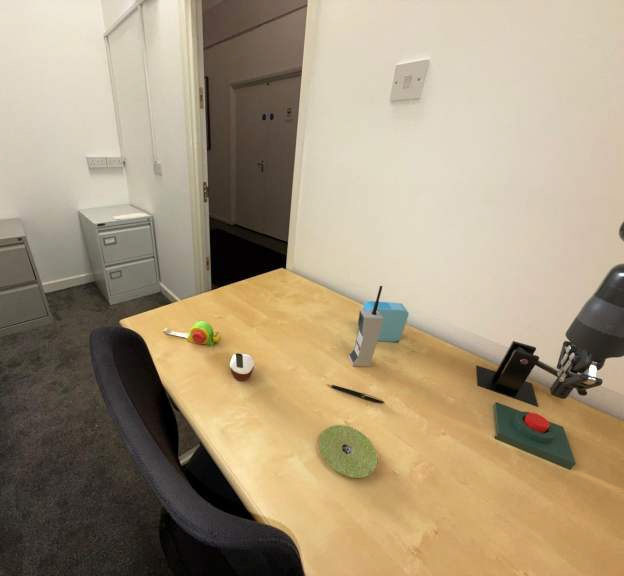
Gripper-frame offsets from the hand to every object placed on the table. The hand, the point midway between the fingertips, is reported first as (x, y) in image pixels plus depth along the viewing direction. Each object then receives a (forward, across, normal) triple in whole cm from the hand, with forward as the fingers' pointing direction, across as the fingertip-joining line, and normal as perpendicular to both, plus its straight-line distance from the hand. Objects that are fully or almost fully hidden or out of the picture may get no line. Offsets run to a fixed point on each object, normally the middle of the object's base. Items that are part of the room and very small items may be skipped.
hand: (556, 394), depth 60 cm
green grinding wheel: (+13, -27, +32) cm, 44 cm away
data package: (+13, +19, +35) cm, 42 cm away
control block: (+13, 0, 0) cm, 13 cm away
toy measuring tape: (+13, -16, +84) cm, 87 cm away
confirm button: (+9, 0, 0) cm, 9 cm away
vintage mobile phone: (+13, +3, +37) cm, 39 cm away
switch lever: (+5, +15, -2) cm, 16 cm away
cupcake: (+13, -21, +62) cm, 67 cm away
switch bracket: (+13, +15, +3) cm, 20 cm away
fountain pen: (+13, -10, +35) cm, 39 cm away
